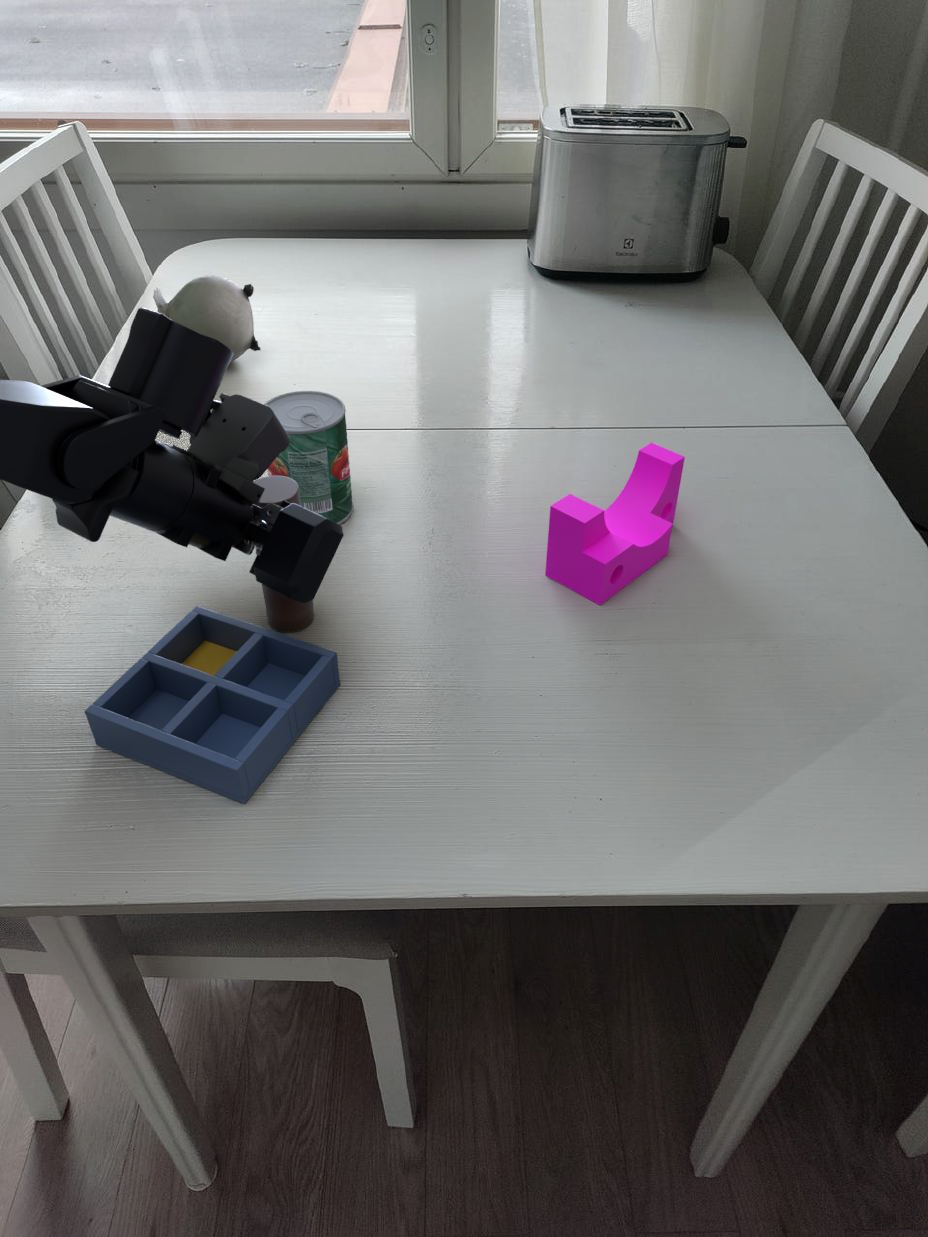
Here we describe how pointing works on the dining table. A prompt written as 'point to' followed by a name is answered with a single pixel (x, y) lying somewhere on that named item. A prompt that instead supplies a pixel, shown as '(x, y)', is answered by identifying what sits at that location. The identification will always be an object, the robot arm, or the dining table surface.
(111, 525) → the dining table surface
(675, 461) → the toy block
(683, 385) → the dining table surface
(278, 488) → the brown wooden dowel
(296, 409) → the canned tomato
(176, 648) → the grid
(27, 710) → the dining table surface
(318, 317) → the dining table surface
